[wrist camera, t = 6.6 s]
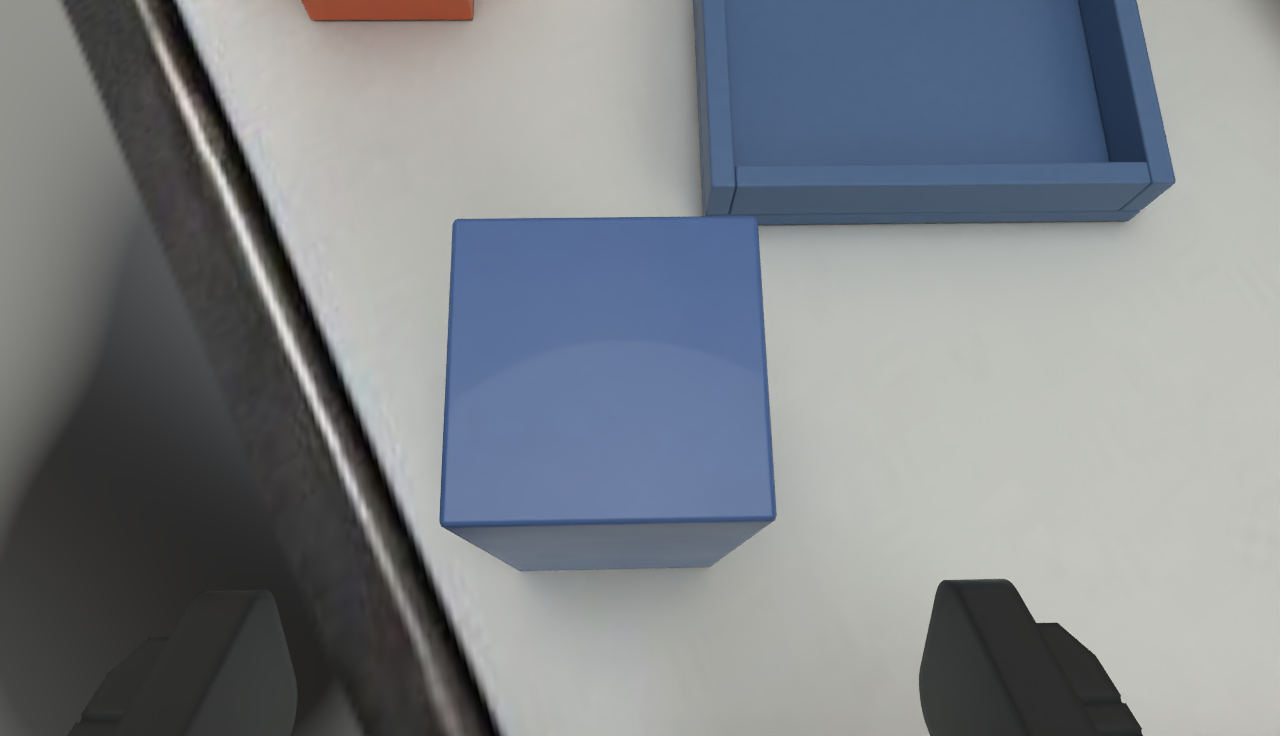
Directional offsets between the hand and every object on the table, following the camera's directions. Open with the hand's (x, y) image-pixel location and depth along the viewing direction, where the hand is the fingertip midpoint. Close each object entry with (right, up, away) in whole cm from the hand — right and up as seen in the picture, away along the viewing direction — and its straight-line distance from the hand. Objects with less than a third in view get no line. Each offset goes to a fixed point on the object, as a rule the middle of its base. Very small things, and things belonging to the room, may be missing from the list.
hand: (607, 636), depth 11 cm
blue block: (0, +1, +10) cm, 10 cm away
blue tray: (+8, +12, +14) cm, 20 cm away
